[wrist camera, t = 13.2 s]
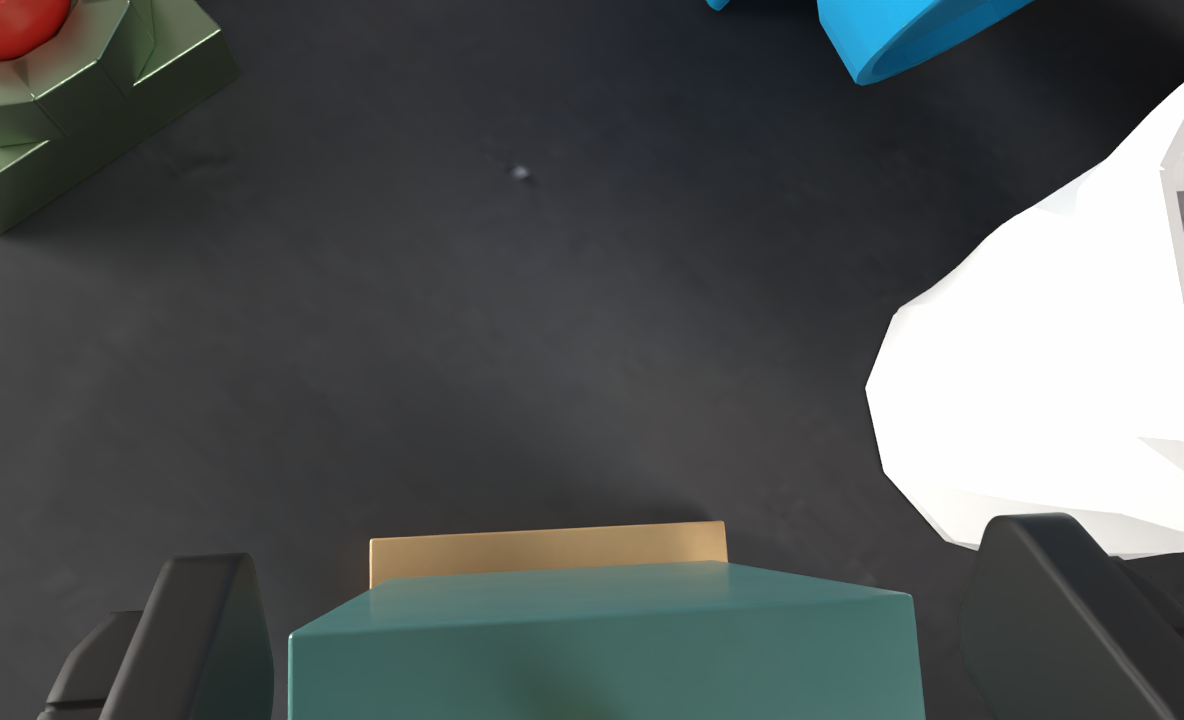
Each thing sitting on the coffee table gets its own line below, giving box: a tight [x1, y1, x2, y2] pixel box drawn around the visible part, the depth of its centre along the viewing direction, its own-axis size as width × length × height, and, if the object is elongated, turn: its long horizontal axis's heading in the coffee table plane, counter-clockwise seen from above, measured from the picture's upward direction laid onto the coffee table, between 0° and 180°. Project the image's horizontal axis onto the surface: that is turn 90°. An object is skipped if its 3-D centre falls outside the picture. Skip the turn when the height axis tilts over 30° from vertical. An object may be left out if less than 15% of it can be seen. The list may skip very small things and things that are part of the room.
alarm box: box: [0, 0, 242, 235], centre depth 24 cm, size 6×8×4 cm
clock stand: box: [370, 521, 728, 589], centre depth 23 cm, size 6×9×1 cm, turn 93°
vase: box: [865, 83, 1184, 560], centre depth 21 cm, size 9×9×12 cm
